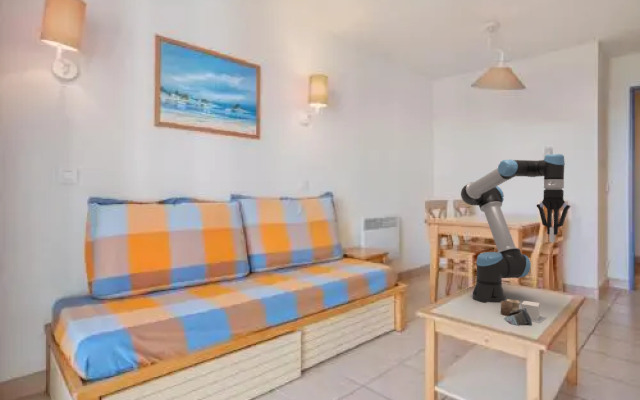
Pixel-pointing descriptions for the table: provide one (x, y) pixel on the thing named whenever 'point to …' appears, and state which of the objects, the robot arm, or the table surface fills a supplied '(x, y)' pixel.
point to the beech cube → (514, 304)
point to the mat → (539, 319)
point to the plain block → (532, 309)
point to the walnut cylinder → (506, 308)
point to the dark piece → (519, 317)
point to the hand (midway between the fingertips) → (552, 241)
